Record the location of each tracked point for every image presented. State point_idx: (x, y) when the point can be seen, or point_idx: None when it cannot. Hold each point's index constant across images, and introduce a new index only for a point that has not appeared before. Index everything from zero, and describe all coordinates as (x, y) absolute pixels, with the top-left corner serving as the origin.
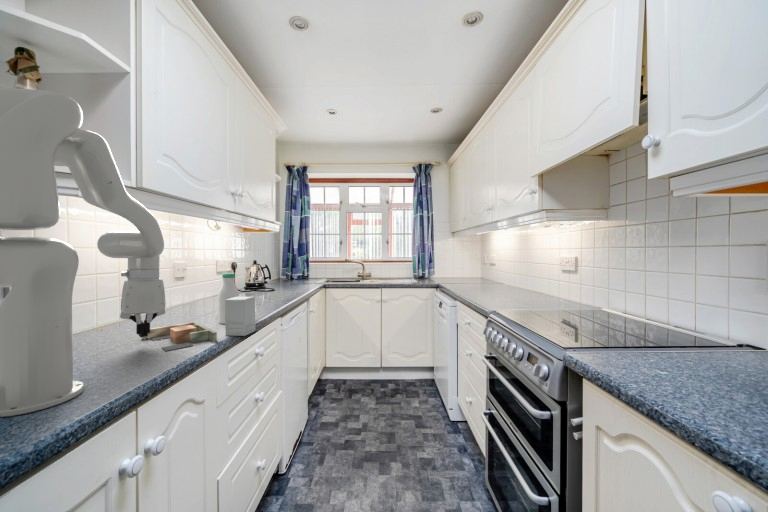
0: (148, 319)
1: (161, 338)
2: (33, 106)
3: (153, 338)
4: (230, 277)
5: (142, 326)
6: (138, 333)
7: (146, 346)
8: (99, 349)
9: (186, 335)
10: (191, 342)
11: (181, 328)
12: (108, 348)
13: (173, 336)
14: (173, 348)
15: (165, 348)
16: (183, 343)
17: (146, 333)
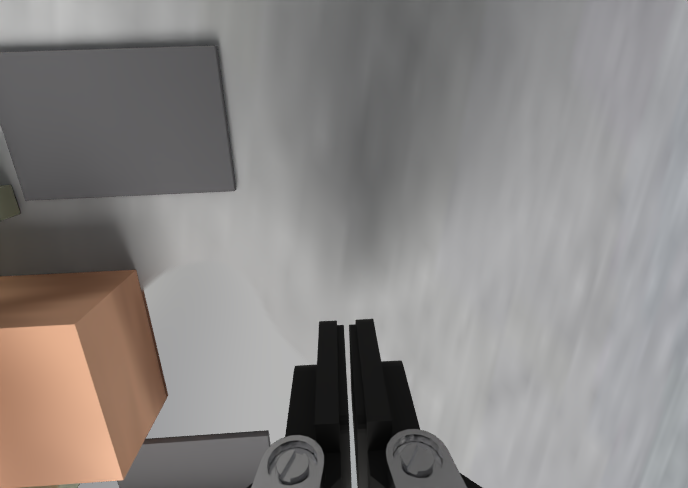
0: (301, 481)
1: (216, 446)
2: None
3: None
4: None
5: (372, 391)
6: (392, 362)
7: None
8: (536, 437)
9: (12, 296)
10: (3, 186)
11: (17, 406)
12: (498, 428)
13: (123, 341)
14: (150, 72)
15: (210, 129)
16: (67, 189)
17: (329, 334)
